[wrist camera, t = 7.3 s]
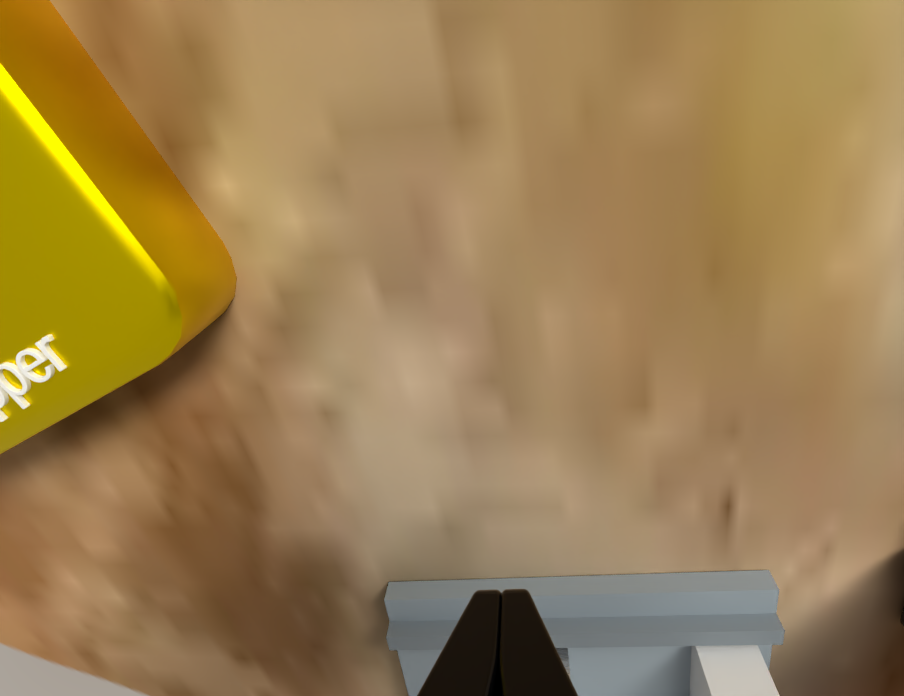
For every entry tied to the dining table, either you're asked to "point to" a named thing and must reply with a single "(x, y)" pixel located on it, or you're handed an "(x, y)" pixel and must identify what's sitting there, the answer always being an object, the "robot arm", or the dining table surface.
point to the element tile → (87, 234)
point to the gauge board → (617, 629)
